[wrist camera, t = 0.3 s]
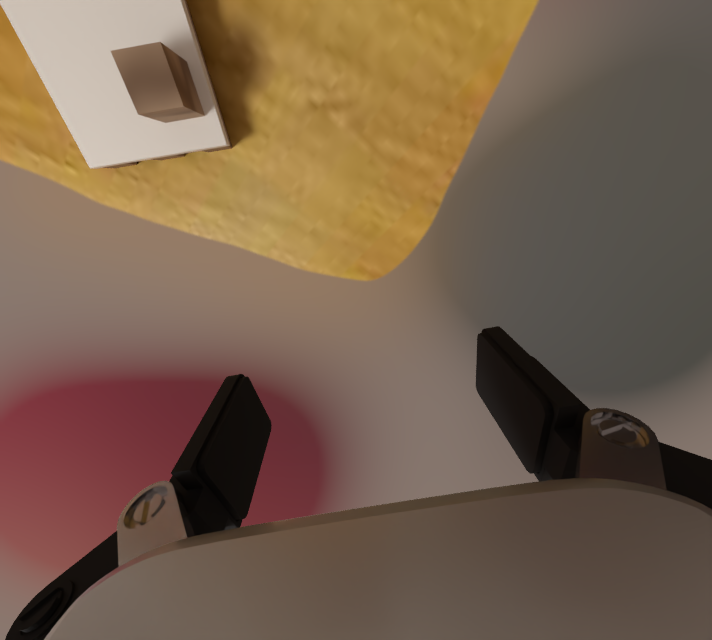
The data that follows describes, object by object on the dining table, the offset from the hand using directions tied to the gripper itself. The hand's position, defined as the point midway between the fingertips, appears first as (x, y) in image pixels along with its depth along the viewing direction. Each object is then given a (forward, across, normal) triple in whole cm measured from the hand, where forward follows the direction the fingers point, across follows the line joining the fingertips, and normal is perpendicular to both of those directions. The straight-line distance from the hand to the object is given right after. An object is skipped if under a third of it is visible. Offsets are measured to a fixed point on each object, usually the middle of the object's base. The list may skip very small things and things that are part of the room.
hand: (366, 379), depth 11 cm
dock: (+31, +19, -21) cm, 42 cm away
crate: (+28, +15, -18) cm, 36 cm away
